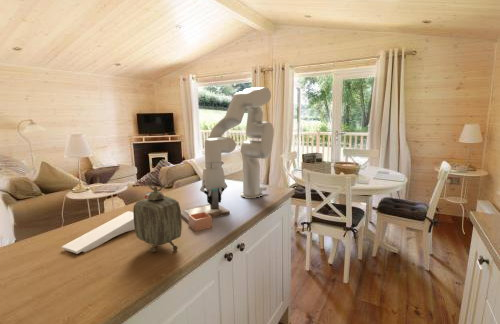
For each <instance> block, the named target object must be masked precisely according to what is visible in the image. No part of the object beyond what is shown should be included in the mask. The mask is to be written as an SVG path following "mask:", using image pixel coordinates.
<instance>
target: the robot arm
mask: <svg viewBox="0 0 500 324" xmlns="http://www.w3.org/2000/svg"><path fill="white" fill-rule="evenodd" d="M271 98H272V92H271V90H270V89H269V88H268V87H264V86H262V87H250V88H244V89H243V90H242V91H238V92H235V93H234V94H233V95H232V98H231V100H230V101H229V105H228V107H227V111H226V113H225V115H224V117H223V118H222V119H220V120H219V121H218V122H217V123H216V124H215V125H214V126H213V127H212V130H211V131H210V134H209V137H208V138H206V139H205V140H204V163H205V164H204V165H205V166H204V167H203V169H202V177H201V186H200V189H199V191H200V192H202V193H204V194H205V195H206V198H207V199H206V200H207V202H206V203H207V204H212V196H211V190H212V189H217V188H218V194H219V203H220V204H221V203H222V194H223V193H224V191H225V190H226V189H227V188H228V184H227V183H226V181H225V180H226V179H225V173H224V172H225V171H224V167H223V165H224V164H225V162H224V161H222V154H230V153H232V152H234V151H235V149H236V146H237V143H236V141H235V139H233V138H231V137H227V136H225V137H224V136H223V135H224V134H225V133H226V132H227V131H229V130H231V129H233V128H235V127H237V126H239V125H240V124H241V123H242V120H243V117H244V116H245V112H246V111H247V119H246V126H245V134H246V137H248V138H250V139H259V140H245V141H243V142H242V143H241V144H240V145H241V146H240V153H241V158H242V184H243V185H242V192H240V197H241V198H243V197H245V198H244V199H251V198H252V199H257V198H256V197H259V198H261V197H260V196H262V197H263V191H264V192H265V191H267V190H268V188H267V186H266V187H264V186H261V183H260V182H261V178H260V177H261V174H260V173H261V172H260V171H261V169H260V168H261V166H260V162H259V160H258V159H263V160H264V159H265V160H266V159H268V158H270V157H271V154H272V150H273V143H274V134H275V133H274V132H275V130H274V129H275V128H274V125H273V124H272V123H271V122H270V121H265V120H263V118H264V113H263V112H264V111H263V110H262V106H264V105H267V104H268V103H269V102H270V101H271Z"/></svg>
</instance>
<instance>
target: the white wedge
mask: <svg viewBox="0 0 500 324" xmlns="http://www.w3.org/2000/svg"><path fill="white" fill-rule="evenodd" d="M130 231H135V227H134V214H133V211H129V210H128V211H125V212H123V213H122V214H120V215H118V216H116V217H115V218H112V219H111V220H109V221H107V222H105V223H103V224H101V225H99V226H97V227H95V228H93V229H92V230H89V231H87V232H86V233H85V234H82V235H80V236H79V237H77V238H75V239H73V240H71V241H69V242H68V243H65V244H64V245H62V246H61V249H62V250H63V251H67V252H69V253H70V252H71V253H73V254H76V255H78V254H80V253H81V252H83V253H86V252H89V251H91V250H93V249H95V248H97V247H100V246H101V245H103V244H105V242H108V241H109V240H111V239H113V238H115V237H116V236H119V235H122V234H124V233H126V232H130Z"/></svg>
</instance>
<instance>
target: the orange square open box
mask: <svg viewBox="0 0 500 324" xmlns="http://www.w3.org/2000/svg"><path fill="white" fill-rule="evenodd" d="M188 216H189V223H188V226H189V227H190V228H191V229H192V230H193V231H195V232H198V231H202V230H206V229H210V228H212V227H213V218H212V217H211V216H210V215H208V214H207V213H206V212H201V213H196V214H191V215H188Z"/></svg>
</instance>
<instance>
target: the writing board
mask: <svg viewBox="0 0 500 324" xmlns="http://www.w3.org/2000/svg"><path fill="white" fill-rule="evenodd" d="M180 210H181V219H183V221H185V222H186V223H187V224H189V216H188V215H191V214H196V213H201V212H206V213H207V214H208V215H210V216H211V217H212V219H213V218H219V217H224V216H227V215H230V213H231V212H230V210H229V209H227V208H225V207H224V206H221V205H220V204H219V208H218V209H211V208H210V204H209V203H207V204H204V205H198V206H193V207H187V208H182V209H181V208H180Z"/></svg>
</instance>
